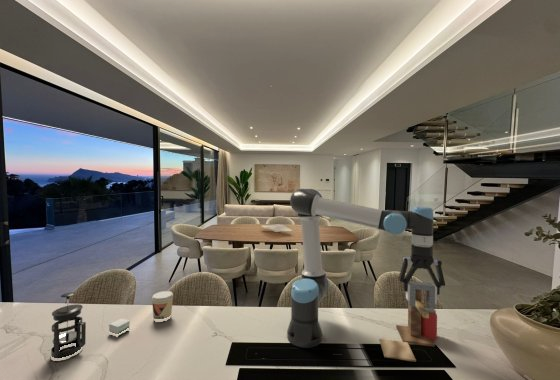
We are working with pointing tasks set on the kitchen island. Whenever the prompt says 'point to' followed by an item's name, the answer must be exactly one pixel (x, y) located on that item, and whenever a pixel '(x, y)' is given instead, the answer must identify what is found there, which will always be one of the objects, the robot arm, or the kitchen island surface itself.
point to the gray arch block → (422, 286)
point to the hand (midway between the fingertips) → (420, 300)
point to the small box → (119, 326)
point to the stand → (415, 324)
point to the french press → (69, 337)
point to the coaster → (397, 350)
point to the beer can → (429, 324)
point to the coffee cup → (162, 304)
